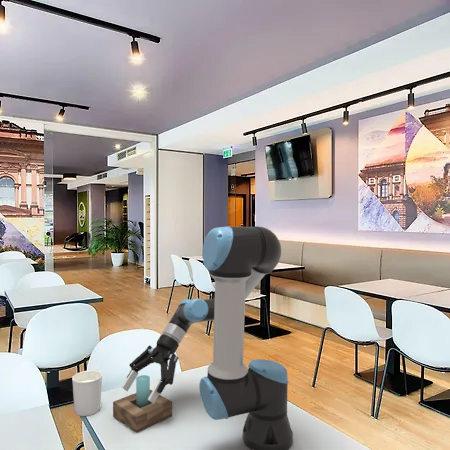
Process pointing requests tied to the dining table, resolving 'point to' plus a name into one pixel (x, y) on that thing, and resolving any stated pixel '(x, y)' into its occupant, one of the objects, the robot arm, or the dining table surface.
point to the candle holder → (87, 392)
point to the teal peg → (142, 391)
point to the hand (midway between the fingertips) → (137, 395)
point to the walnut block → (141, 412)
